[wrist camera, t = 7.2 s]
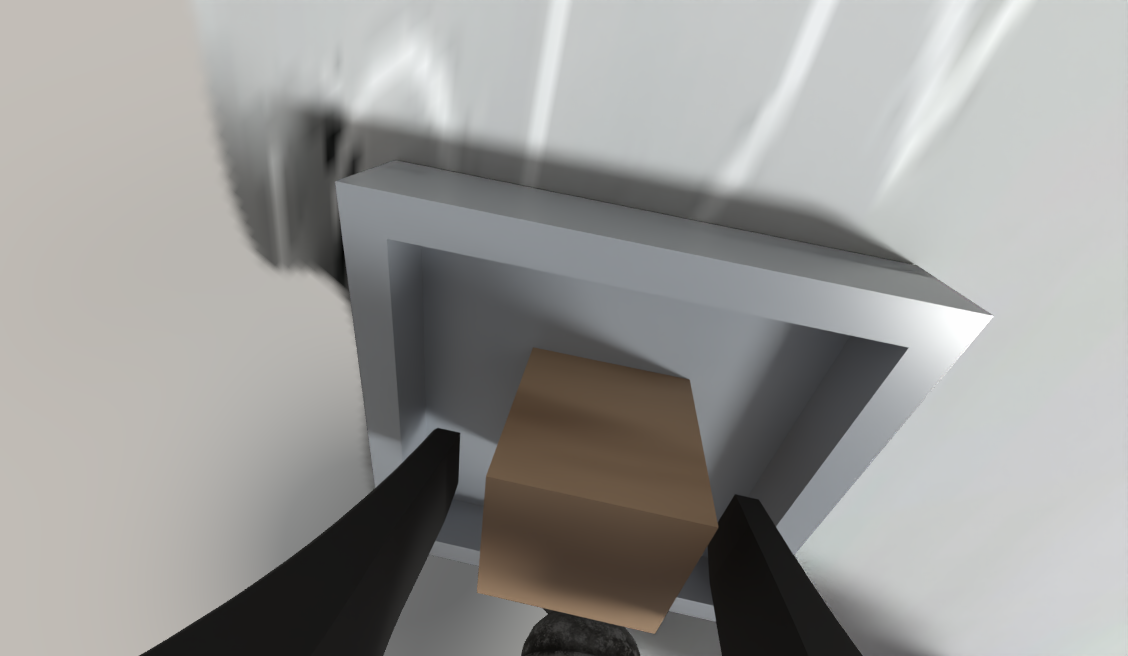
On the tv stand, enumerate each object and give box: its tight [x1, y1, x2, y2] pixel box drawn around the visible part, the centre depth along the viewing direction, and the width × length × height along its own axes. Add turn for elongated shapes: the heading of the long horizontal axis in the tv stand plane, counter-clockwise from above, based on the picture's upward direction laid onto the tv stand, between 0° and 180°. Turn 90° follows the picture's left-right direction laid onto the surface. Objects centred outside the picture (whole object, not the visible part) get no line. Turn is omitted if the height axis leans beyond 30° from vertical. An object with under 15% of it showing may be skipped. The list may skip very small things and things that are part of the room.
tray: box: [335, 160, 993, 622], centre depth 13 cm, size 13×13×2 cm
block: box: [477, 347, 718, 634], centre depth 11 cm, size 4×4×4 cm
